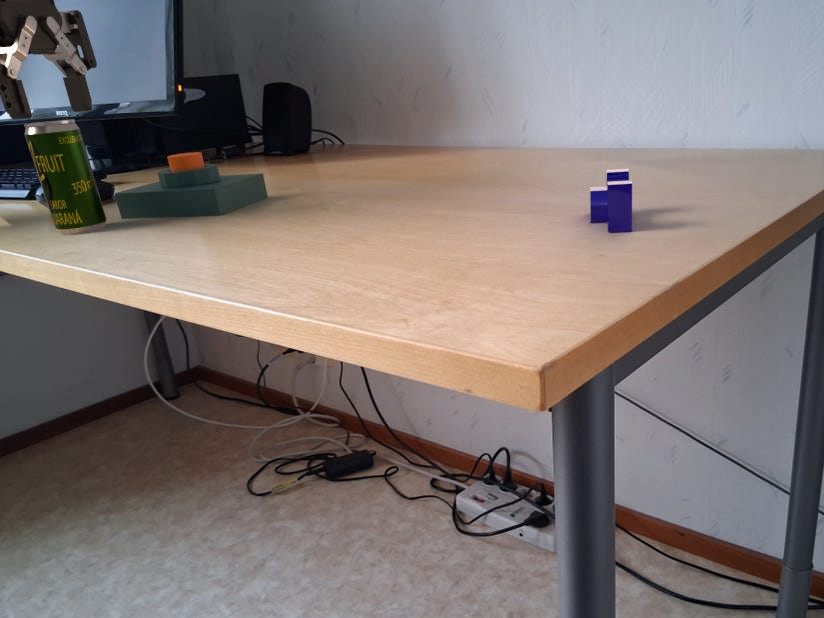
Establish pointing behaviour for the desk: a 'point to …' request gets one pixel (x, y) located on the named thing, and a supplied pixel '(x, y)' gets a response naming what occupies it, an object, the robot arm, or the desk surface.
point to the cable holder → (613, 201)
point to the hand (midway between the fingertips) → (53, 114)
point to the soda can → (66, 176)
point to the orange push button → (186, 161)
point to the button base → (191, 194)
